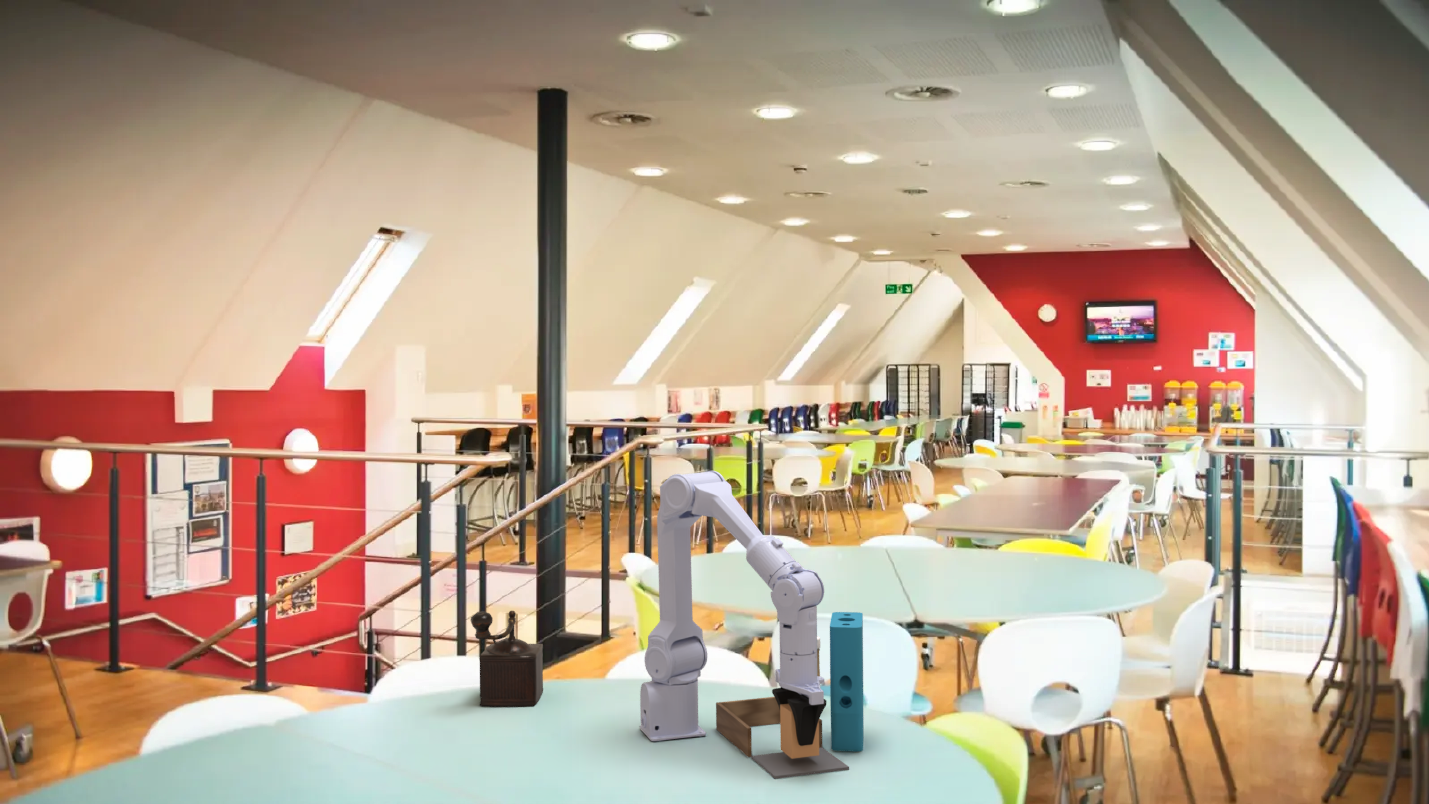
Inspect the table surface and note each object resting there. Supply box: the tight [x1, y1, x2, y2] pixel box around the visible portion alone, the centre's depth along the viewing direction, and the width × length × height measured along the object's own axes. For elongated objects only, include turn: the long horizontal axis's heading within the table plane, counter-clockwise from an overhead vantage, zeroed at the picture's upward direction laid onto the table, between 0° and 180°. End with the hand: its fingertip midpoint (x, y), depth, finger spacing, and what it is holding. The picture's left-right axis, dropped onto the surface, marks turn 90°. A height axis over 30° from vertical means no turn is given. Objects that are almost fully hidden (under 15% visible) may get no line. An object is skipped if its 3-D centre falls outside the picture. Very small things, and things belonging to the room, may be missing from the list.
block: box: [829, 611, 865, 753], centre depth 189 cm, size 12×5×20 cm, turn 172°
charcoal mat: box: [750, 746, 850, 780], centre depth 179 cm, size 12×10×1 cm
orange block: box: [779, 704, 819, 759], centre depth 179 cm, size 4×4×7 cm
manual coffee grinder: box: [470, 610, 544, 708], centre depth 215 cm, size 16×11×18 cm
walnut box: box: [715, 696, 823, 758], centre depth 192 cm, size 13×16×4 cm
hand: (799, 739), depth 179 cm, fingers closed on orange block, 4 cm apart
